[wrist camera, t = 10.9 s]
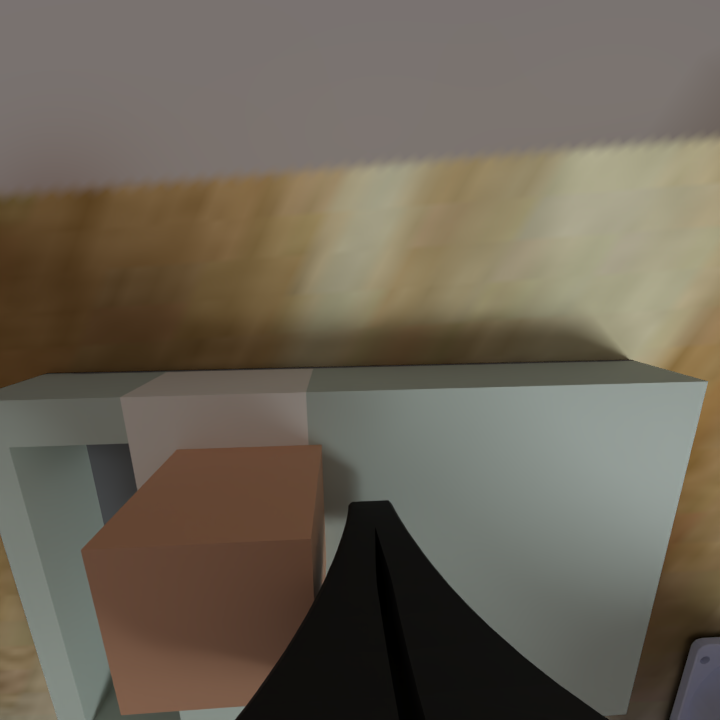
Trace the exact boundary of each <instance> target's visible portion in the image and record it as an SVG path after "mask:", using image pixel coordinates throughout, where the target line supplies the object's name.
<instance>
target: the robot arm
mask: <svg viewBox="0 0 720 720" xmlns="http://www.w3.org/2000/svg"><path fill="white" fill-rule="evenodd" d="M235 720H608V719H607V718H605V717H604V716H603V715H601V714H600V713H598V712H597V711H596V710H594V709H593V708H591V707H590V706H589V705H587V704H586V703H584V702H583V701H582V700H580V699H579V698H577V697H576V696H575V695H573V694H572V693H570V692H569V691H568V690H566V689H565V688H563V687H562V686H561V685H559V684H558V683H557V682H555V681H554V680H553V679H551V678H550V677H549V676H548V675H546V674H545V673H544V672H543V671H541V670H540V669H539V668H538V667H536V666H535V665H534V664H533V663H531V662H530V661H529V660H528V659H526V658H525V657H524V656H523V655H522V654H520V653H519V652H518V651H517V650H516V649H515V648H514V647H513V646H511V645H510V644H509V643H508V642H507V641H506V640H505V639H503V638H502V637H501V636H500V635H499V634H498V633H497V632H496V631H494V630H493V629H492V628H491V627H490V626H489V625H488V624H487V623H486V622H485V621H484V620H483V619H482V618H481V617H480V616H479V615H478V614H477V613H476V612H475V611H474V610H473V609H472V608H471V607H470V606H469V605H468V604H467V603H466V602H465V601H464V600H463V599H462V598H461V597H460V596H459V595H458V594H457V593H456V592H455V590H454V589H453V588H452V587H451V586H450V585H449V584H448V583H447V581H446V580H445V579H444V578H443V577H442V576H441V574H440V573H439V572H438V571H437V569H436V568H435V567H434V566H433V565H432V563H431V562H430V561H429V559H428V558H427V557H426V556H425V554H424V553H423V551H422V550H421V549H420V547H419V546H418V545H417V543H416V542H415V540H414V539H413V538H412V536H411V535H410V533H409V532H408V530H407V529H406V527H405V526H404V524H403V522H402V521H401V519H400V518H399V516H398V514H397V512H396V511H395V509H394V507H393V505H392V503H391V502H390V501H389V500H381V501H358V502H351V503H350V504H349V505H348V514H347V520H346V524H345V527H344V531H343V534H342V537H341V540H340V543H339V546H338V548H337V551H336V554H335V557H334V559H333V561H332V564H331V566H330V568H329V571H328V573H327V575H326V577H325V580H324V582H323V584H322V586H321V588H320V590H319V592H318V594H317V596H316V598H315V600H314V602H313V604H312V606H311V607H310V609H309V611H308V613H307V615H306V617H305V618H304V620H303V622H302V623H301V625H300V627H299V628H298V630H297V632H296V633H295V635H294V637H293V638H292V640H291V642H290V643H289V645H288V646H287V648H286V650H285V651H284V653H283V654H282V656H281V657H280V659H279V660H278V661H277V663H276V664H275V666H274V667H273V669H272V670H271V671H270V673H269V674H268V676H267V677H266V679H265V680H264V682H263V683H262V684H261V686H260V687H259V689H258V690H257V692H256V693H255V694H254V696H253V697H252V698H251V700H250V701H249V702H248V704H247V705H246V706H245V708H244V709H243V710H242V711H241V713H240V714H239V715H238V716H237V718H236V719H235ZM670 720H720V637H709V638H699V639H696V640H695V641H694V642H693V643H692V644H691V647H690V651H689V654H688V658H687V661H686V664H685V668H684V671H683V675H682V678H681V682H680V685H679V689H678V692H677V696H676V699H675V702H674V706H673V709H672V713H671V716H670Z"/></svg>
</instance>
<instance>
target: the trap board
mask: <svg viewBox="0 0 720 720" xmlns="http://www.w3.org/2000/svg"><path fill="white" fill-rule="evenodd" d="M707 384H708V381H705V380H701V379H698V378H694V377H690V376H687V375H683V374H680V373H676V372H673V371H669V370H666V369H662V368H658V367H655V366H651V365H648V364H644V363H641V362H637V361H634V360H599V361H556V362H513V363H470V364H428V365H385V366H342V367H299V368H256V369H214V370H171V371H128V372H85V373H47V374H44V375H40V376H37V377H34V378H31V379H28V380H25V381H22V382H19V383H16V384H13V385H10V386H7V387H3V388H0V534H1V537H2V541H3V544H4V547H5V550H6V554H7V557H8V560H9V563H10V567H11V570H12V573H13V576H14V579H15V583H16V586H17V589H18V592H19V596H20V599H21V602H22V605H23V609H24V612H25V615H26V618H27V622H28V625H29V628H30V631H31V634H32V638H33V641H34V644H35V647H36V651H37V654H38V657H39V660H40V664H41V667H42V670H43V673H44V676H45V680H46V683H47V686H48V689H49V693H50V696H51V699H52V702H53V706H54V709H55V712H56V715H57V718H58V720H235V719H236V718H237V716H238V715H239V714H240V713H241V711H242V710H243V709H244V708H245V706H241V707H227V708H214V709H200V710H186V711H173V712H159V713H145V714H131V715H121V713H120V709H119V705H118V701H117V697H116V693H115V688H114V684H113V680H112V676H111V672H110V668H109V664H108V660H107V656H106V652H105V648H104V644H103V639H102V635H101V631H100V627H99V623H98V619H97V615H96V611H95V607H94V603H93V599H92V595H91V590H90V586H89V582H88V578H87V574H86V570H85V566H84V562H83V558H82V554H81V549H82V548H83V547H84V546H85V545H86V544H87V543H88V542H89V541H90V540H91V539H92V538H93V537H94V536H95V535H96V533H97V532H98V531H99V530H100V529H101V528H102V527H103V526H104V525H105V524H106V523H107V522H108V521H109V520H110V519H111V518H112V517H113V516H114V515H115V514H116V513H117V512H118V511H119V509H120V508H121V507H122V506H123V505H124V504H125V503H126V502H127V501H128V500H129V499H130V498H131V497H132V496H133V495H134V494H135V493H136V492H137V491H138V490H139V489H140V488H141V486H142V485H143V484H144V483H145V482H146V481H147V480H148V479H149V478H150V477H151V476H152V475H153V474H154V473H155V472H156V471H157V470H158V469H159V468H160V467H161V466H162V465H163V463H164V462H165V461H166V460H167V459H168V458H169V457H170V456H171V455H172V454H173V453H174V452H175V451H176V450H179V449H208V448H237V447H266V446H296V445H322V464H323V490H324V516H325V541H326V575H327V573H328V571H329V568H330V566H331V564H332V561H333V559H334V557H335V554H336V551H337V548H338V546H339V543H340V540H341V537H342V534H343V531H344V527H345V524H346V520H347V514H348V505H349V504H350V503H351V502H358V501H381V500H389V501H390V502H391V503H392V505H393V507H394V509H395V511H396V512H397V514H398V516H399V518H400V519H401V521H402V522H403V524H404V526H405V527H406V529H407V530H408V532H409V533H410V535H411V536H412V538H413V539H414V540H415V542H416V543H417V545H418V546H419V547H420V549H421V550H422V551H423V553H424V554H425V556H426V557H427V558H428V559H429V561H430V562H431V563H432V565H433V566H434V567H435V568H436V569H437V571H438V572H439V573H440V574H441V576H442V577H443V578H444V579H445V580H446V581H447V583H448V584H449V585H450V586H451V587H452V588H453V589H454V590H455V592H456V593H457V594H458V595H459V596H460V597H461V598H462V599H463V600H464V601H465V602H466V603H467V604H468V605H469V606H470V607H471V608H472V609H473V610H474V611H475V612H476V613H477V614H478V615H479V616H480V617H481V618H482V619H483V620H484V621H485V622H486V623H487V624H488V625H489V626H490V627H491V628H492V629H493V630H494V631H496V632H497V633H498V634H499V635H500V636H501V637H502V638H503V639H505V640H506V641H507V642H508V643H509V644H510V645H511V646H513V647H514V648H515V649H516V650H517V651H518V652H519V653H520V654H522V655H523V656H524V657H525V658H526V659H528V660H529V661H530V662H531V663H533V664H534V665H535V666H536V667H538V668H539V669H540V670H541V671H543V672H544V673H545V674H546V675H548V676H549V677H550V678H551V679H553V680H554V681H555V682H557V683H558V684H559V685H561V686H562V687H563V688H565V689H566V690H568V691H569V692H570V693H572V694H573V695H575V696H576V697H577V698H579V699H580V700H582V701H583V702H584V703H586V704H587V705H589V706H590V707H591V708H593V709H594V710H596V711H597V712H598V713H600V714H601V715H603V716H610V715H623V714H626V713H627V709H628V705H629V701H630V697H631V693H632V688H633V684H634V680H635V676H636V672H637V668H638V664H639V660H640V656H641V652H642V648H643V644H644V640H645V636H646V632H647V627H648V623H649V619H650V615H651V611H652V607H653V603H654V599H655V595H656V591H657V587H658V583H659V579H660V575H661V571H662V566H663V562H664V558H665V554H666V550H667V546H668V542H669V538H670V534H671V530H672V526H673V522H674V518H675V514H676V510H677V506H678V501H679V497H680V493H681V489H682V485H683V481H684V477H685V473H686V469H687V465H688V461H689V457H690V453H691V449H692V445H693V440H694V436H695V432H696V428H697V424H698V420H699V416H700V412H701V408H702V404H703V400H704V396H705V392H706V388H707Z"/></svg>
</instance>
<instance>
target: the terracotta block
mask: <svg viewBox="0 0 720 720" xmlns="http://www.w3.org/2000/svg"><path fill="white" fill-rule="evenodd" d="M81 554H82V558H83V562H84V566H85V570H86V574H87V578H88V582H89V586H90V590H91V595H92V599H93V603H94V607H95V611H96V615H97V619H98V623H99V627H100V631H101V635H102V639H103V644H104V648H105V652H106V656H107V660H108V664H109V668H110V672H111V676H112V680H113V684H114V688H115V693H116V697H117V701H118V705H119V709H120V713H121V715H131V714H145V713H159V712H173V711H186V710H200V709H214V708H227V707H241V706H246V705H247V704H248V702H249V701H250V700H251V698H252V697H253V696H254V694H255V693H256V692H257V690H258V689H259V687H260V686H261V684H262V683H263V682H264V680H265V679H266V677H267V676H268V674H269V673H270V671H271V670H272V669H273V667H274V666H275V664H276V663H277V661H278V660H279V659H280V657H281V656H282V654H283V653H284V651H285V650H286V648H287V646H288V645H289V643H290V642H291V640H292V638H293V637H294V635H295V633H296V632H297V630H298V628H299V627H300V625H301V623H302V622H303V620H304V618H305V617H306V615H307V613H308V611H309V609H310V607H311V606H312V604H313V602H314V600H315V598H316V596H317V594H318V592H319V590H320V588H321V586H322V584H323V582H324V580H325V577H326V541H325V516H324V490H323V464H322V445H296V446H266V447H237V448H208V449H179V450H176V451H175V452H174V453H173V454H172V455H171V456H170V457H169V458H168V459H167V460H166V461H165V462H164V463H163V465H162V466H161V467H160V468H159V469H158V470H157V471H156V472H155V473H154V474H153V475H152V476H151V477H150V478H149V479H148V480H147V481H146V482H145V483H144V484H143V485H142V486H141V488H140V489H139V490H138V491H137V492H136V493H135V494H134V495H133V496H132V497H131V498H130V499H129V500H128V501H127V502H126V503H125V504H124V505H123V506H122V507H121V508H120V509H119V511H118V512H117V513H116V514H115V515H114V516H113V517H112V518H111V519H110V520H109V521H108V522H107V523H106V524H105V525H104V526H103V527H102V528H101V529H100V530H99V531H98V532H97V533H96V535H95V536H94V537H93V538H92V539H91V540H90V541H89V542H88V543H87V544H86V545H85V546H84V547H83V548H82V549H81Z"/></svg>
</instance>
